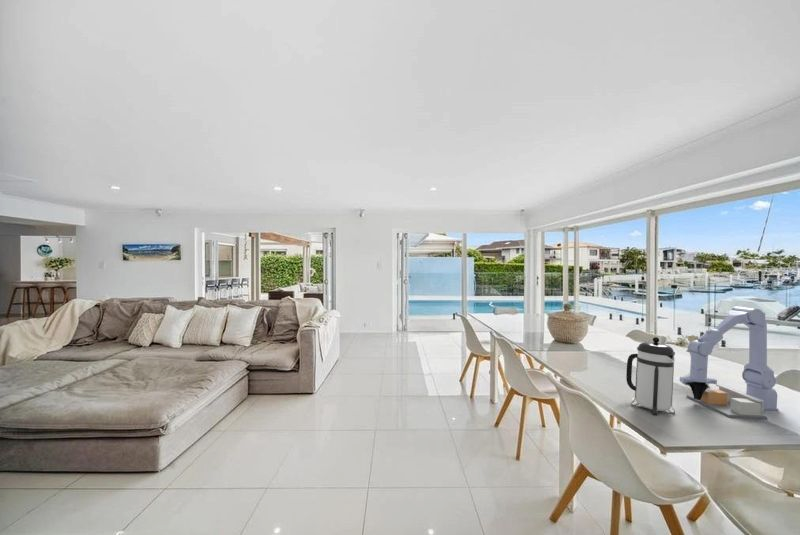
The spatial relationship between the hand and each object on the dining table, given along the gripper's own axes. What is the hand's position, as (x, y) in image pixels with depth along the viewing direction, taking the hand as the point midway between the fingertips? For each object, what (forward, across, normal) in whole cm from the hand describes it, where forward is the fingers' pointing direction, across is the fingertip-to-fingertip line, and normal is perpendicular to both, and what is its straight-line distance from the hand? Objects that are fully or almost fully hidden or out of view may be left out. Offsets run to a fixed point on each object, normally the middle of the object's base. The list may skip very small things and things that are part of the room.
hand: (697, 399), depth 158 cm
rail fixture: (+2, -9, +3) cm, 10 cm away
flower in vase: (+2, -22, -31) cm, 38 cm away
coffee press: (+2, +26, +9) cm, 28 cm away
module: (+1, -7, 0) cm, 7 cm away
